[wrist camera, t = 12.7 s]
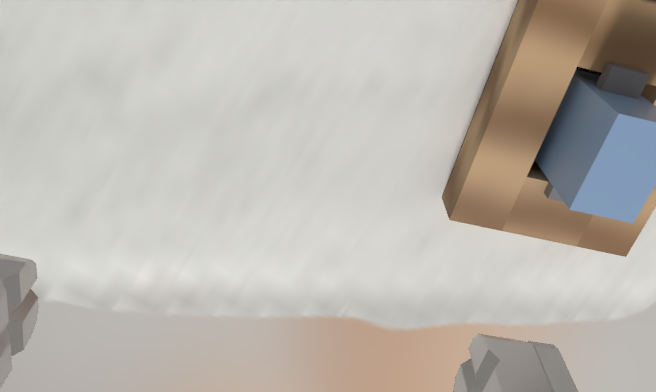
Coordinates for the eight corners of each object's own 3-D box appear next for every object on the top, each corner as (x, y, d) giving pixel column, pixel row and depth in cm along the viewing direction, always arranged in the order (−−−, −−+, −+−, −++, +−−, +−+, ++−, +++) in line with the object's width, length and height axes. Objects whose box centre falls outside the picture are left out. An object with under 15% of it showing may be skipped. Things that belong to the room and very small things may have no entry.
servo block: (575, 43, 37) (632, 86, 30) (633, 58, 38) (703, 104, 31) (518, 168, 42) (558, 231, 35) (571, 180, 42) (620, 244, 35)
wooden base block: (531, -33, 35) (547, -24, 32) (728, 20, 36) (759, 32, 34) (441, 197, 43) (449, 219, 40) (607, 233, 44) (625, 256, 42)
